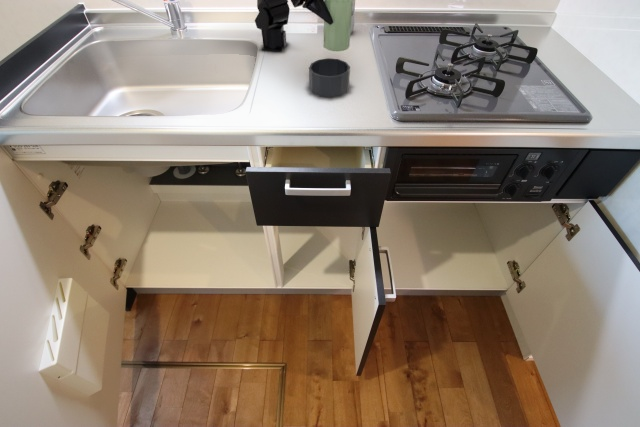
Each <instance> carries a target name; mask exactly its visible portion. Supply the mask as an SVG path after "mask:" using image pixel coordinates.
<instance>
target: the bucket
mask: <svg viewBox="0 0 640 427" xmlns="http://www.w3.org/2000/svg"><path fill="white" fill-rule="evenodd" d="M350 72H351V66H350V65H349V64H348V62H346V61H344V60H341V59H339V58H330V57H327V58H322V59H317V60H315V61H313V62H311V63H310V65H309V67H308V85H309V86H308V88H309V90H310V92H311V93H312V94H313V95H315V96H317V97H320V98H328V99H333V98H337V97H342V96H343V95H345V94H346V93H348V91H349V88H350V74H351V73H350Z"/></svg>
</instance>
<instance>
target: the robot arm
mask: <svg viewBox="0 0 640 427" xmlns="http://www.w3.org/2000/svg"><path fill="white" fill-rule="evenodd" d="M290 2H291V4H292V6H293V7H294V8H297V7H302V8H303V9H307V10H308V11H310V12H311V13H312V14H314V15H316V16H317V17H319V18H320V19H322V20H323V22H324V21H326V22H327V23H328V24H330V25H332V23H333V19H332V17H331V14H330V12H329V10H328V8H327V6H326V4H325V2H324V0H290ZM256 7H257V10H258V14H257V15H256V17H255V19H254V24H255V26H256V28H257V29H259V30H260V31H261V38H262V47H261V51H268V52H280V53H281V52H282V51H283V50H284V48H286V46H287V44H288V43H287V33H286V30H285V28H284V27H285V26H286V25H288V23H289V17H290V11H291V10H290V5H289V0H256ZM352 15H353V13H352Z"/></svg>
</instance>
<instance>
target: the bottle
mask: <svg viewBox="0 0 640 427" xmlns="http://www.w3.org/2000/svg"><path fill="white" fill-rule="evenodd" d="M355 8H356V0H353V4H352V13H353V15H352V18H351V31H350V35H352V33H353V31H354V29H355V10H356V9H355Z"/></svg>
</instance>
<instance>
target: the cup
mask: <svg viewBox="0 0 640 427" xmlns="http://www.w3.org/2000/svg"><path fill="white" fill-rule="evenodd" d="M324 2H325V4H326V6H327V8H328V10H329V12H330V14H331V17H332V19H333V23H332V25H330V24H328V23H327V22H326V21H324V20H323V48H324V49H325V50H327V51H330V52H343V51H344V52H345V51H347V50H348V49H349V48H350V42H351V34H350V31H351V18H352V4H353V0H324Z"/></svg>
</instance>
